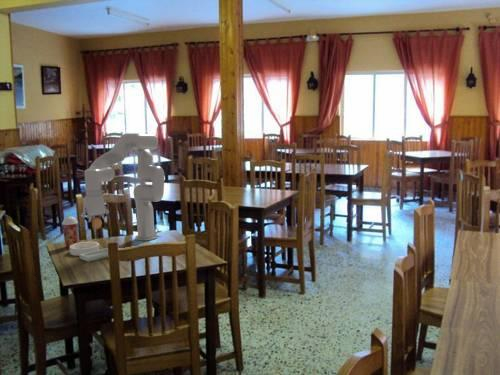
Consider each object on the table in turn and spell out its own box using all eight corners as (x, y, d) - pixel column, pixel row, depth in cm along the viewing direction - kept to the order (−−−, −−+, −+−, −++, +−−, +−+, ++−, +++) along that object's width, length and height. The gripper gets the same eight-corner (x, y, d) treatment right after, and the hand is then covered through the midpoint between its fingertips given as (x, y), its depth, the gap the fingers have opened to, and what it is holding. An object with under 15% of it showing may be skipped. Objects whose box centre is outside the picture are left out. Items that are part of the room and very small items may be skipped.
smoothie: (82, 244, 295) (79, 209, 292) (76, 248, 287) (73, 212, 284) (68, 244, 296) (65, 209, 293) (61, 248, 288) (58, 212, 285)
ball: (98, 227, 273) (97, 215, 272) (104, 228, 268) (103, 217, 267) (88, 229, 268) (87, 217, 267) (93, 231, 264) (92, 219, 263)
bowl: (90, 246, 291) (90, 240, 291) (104, 251, 281) (104, 244, 280) (65, 252, 281) (64, 245, 280) (78, 257, 271) (77, 250, 270)
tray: (107, 251, 279) (107, 247, 279) (116, 255, 273) (116, 250, 273) (79, 258, 268) (79, 254, 268) (88, 261, 262) (87, 257, 262)
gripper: (105, 190, 274) (107, 224, 277) (74, 194, 262) (76, 230, 265) (112, 191, 269) (115, 226, 272) (81, 196, 257) (83, 232, 260)
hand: (96, 227), depth 268 cm, fingers closed on ball, 5 cm apart
